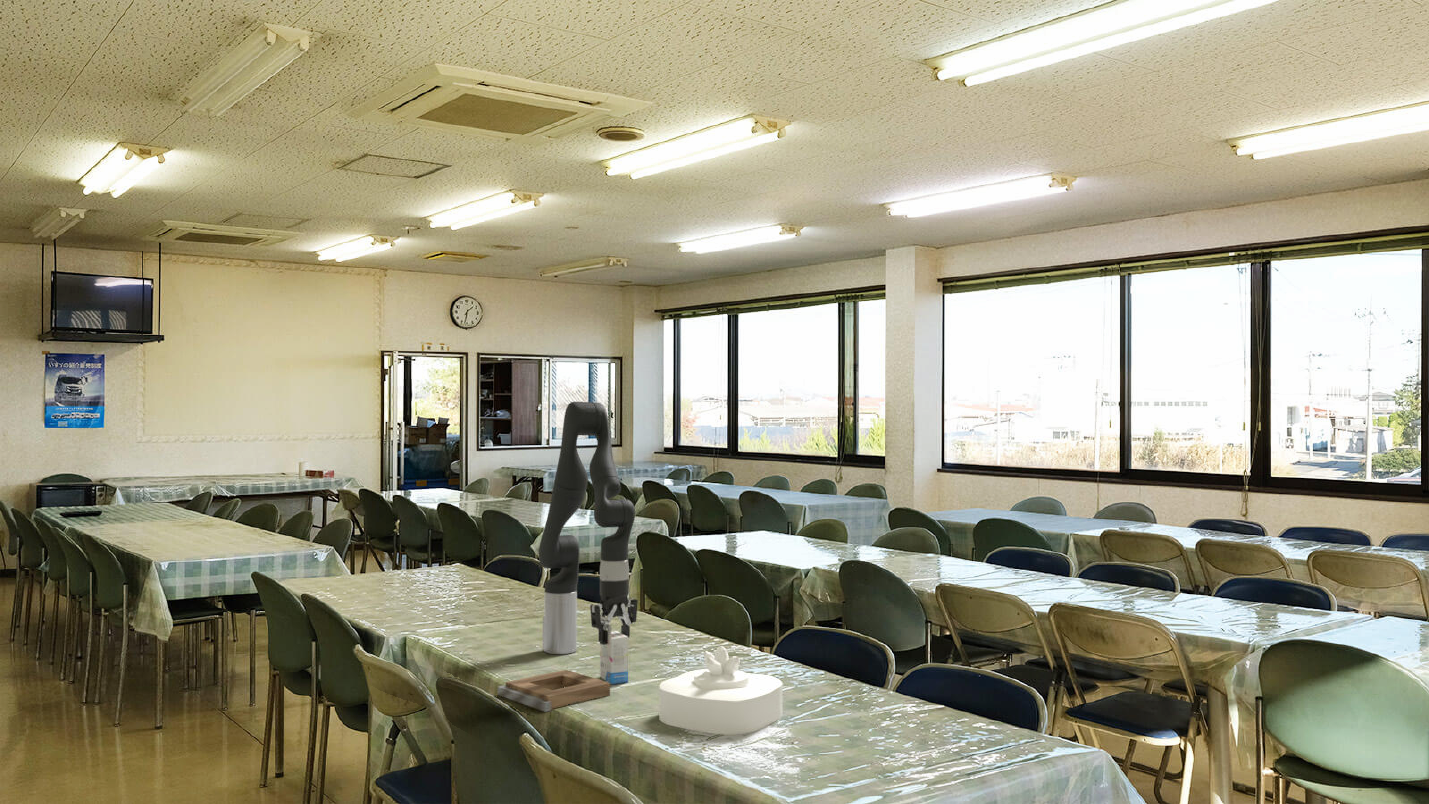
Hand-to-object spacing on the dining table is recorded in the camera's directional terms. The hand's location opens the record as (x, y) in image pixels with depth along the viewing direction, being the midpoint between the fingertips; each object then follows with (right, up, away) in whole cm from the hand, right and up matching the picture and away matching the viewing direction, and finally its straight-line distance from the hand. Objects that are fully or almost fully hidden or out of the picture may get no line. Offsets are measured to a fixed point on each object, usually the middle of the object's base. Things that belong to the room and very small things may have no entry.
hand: (614, 642), depth 268 cm
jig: (-12, -9, -15) cm, 21 cm away
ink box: (0, -10, 0) cm, 10 cm away
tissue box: (+27, -10, -32) cm, 43 cm away
